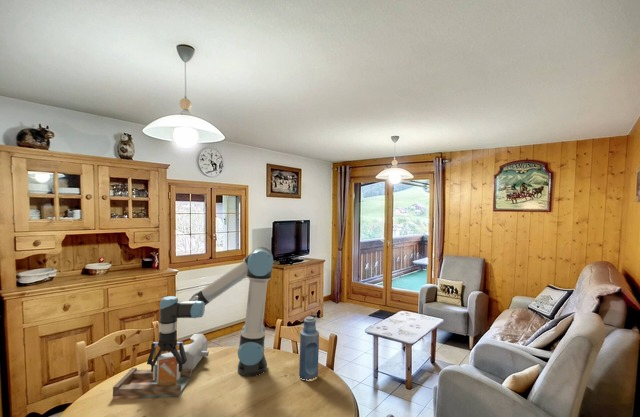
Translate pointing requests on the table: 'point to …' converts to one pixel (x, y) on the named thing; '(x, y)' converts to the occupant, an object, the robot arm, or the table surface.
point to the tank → (195, 351)
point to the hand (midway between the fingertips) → (166, 378)
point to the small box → (166, 370)
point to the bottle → (309, 349)
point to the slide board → (148, 385)
